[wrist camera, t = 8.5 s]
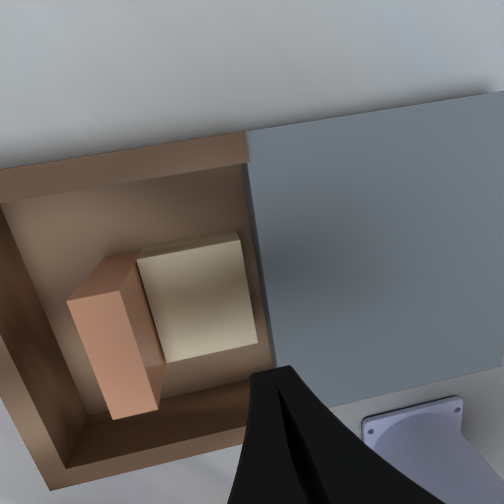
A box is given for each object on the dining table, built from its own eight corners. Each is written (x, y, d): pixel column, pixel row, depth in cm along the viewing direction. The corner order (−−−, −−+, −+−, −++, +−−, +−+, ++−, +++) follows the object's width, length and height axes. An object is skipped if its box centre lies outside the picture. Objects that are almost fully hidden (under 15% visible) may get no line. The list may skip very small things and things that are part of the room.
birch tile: (252, 323, 20) (257, 342, 18) (170, 341, 19) (166, 363, 17) (236, 229, 17) (239, 239, 16) (143, 247, 17) (136, 259, 15)
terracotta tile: (158, 409, 14) (112, 419, 14) (169, 344, 19) (135, 351, 19) (119, 290, 12) (66, 301, 12) (142, 250, 17) (104, 257, 17)
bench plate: (464, 339, 23) (501, 366, 20) (274, 382, 22) (285, 418, 19) (485, 94, 18) (539, 85, 15) (235, 134, 16) (242, 131, 14)
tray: (274, 382, 22) (289, 432, 18) (77, 427, 21) (49, 490, 17) (235, 134, 16) (245, 130, 13) (-34, 176, 15) (-110, 186, 12)
